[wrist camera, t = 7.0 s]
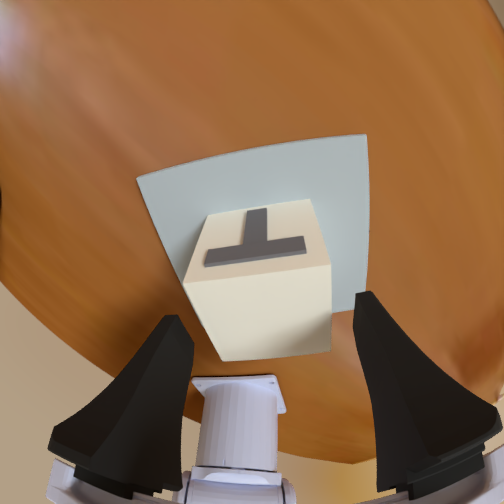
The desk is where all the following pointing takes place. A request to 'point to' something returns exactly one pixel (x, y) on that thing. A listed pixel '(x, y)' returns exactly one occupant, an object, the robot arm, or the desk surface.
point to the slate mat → (272, 200)
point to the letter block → (263, 282)
